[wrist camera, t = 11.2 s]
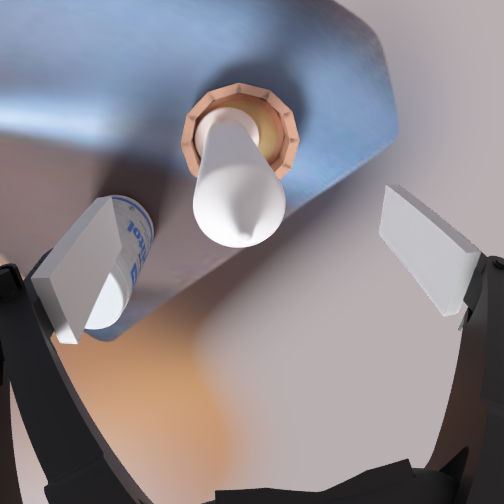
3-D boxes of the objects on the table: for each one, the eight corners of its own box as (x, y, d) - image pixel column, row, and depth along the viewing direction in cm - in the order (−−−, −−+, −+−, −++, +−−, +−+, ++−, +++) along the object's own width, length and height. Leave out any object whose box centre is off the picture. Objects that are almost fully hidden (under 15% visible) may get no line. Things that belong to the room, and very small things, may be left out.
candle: (258, 106, 33) (341, 146, 11) (258, 166, 36) (324, 303, 14) (193, 108, 32) (143, 153, 10) (196, 169, 36) (168, 313, 14)
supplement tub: (166, 247, 41) (144, 322, 29) (107, 266, 42) (71, 339, 29) (136, 180, 37) (93, 235, 24) (76, 206, 37) (20, 265, 25)
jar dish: (172, 104, 33) (166, 106, 29) (276, 72, 32) (281, 71, 29) (205, 197, 39) (203, 208, 35) (301, 169, 38) (309, 178, 34)
